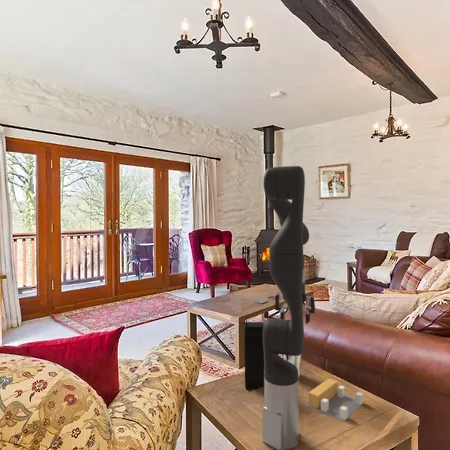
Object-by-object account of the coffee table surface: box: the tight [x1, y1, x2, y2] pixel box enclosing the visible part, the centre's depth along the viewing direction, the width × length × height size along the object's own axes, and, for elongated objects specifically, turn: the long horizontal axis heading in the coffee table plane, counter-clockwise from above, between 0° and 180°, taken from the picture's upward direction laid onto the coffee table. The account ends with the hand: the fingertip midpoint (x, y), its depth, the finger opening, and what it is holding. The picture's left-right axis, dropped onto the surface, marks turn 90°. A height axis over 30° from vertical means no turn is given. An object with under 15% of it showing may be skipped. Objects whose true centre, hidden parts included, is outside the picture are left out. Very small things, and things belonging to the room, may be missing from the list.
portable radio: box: [243, 316, 265, 390], centre depth 126 cm, size 8×6×25 cm
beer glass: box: [282, 354, 302, 378], centre depth 132 cm, size 7×7×15 cm
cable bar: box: [308, 377, 339, 409], centre depth 115 cm, size 13×3×4 cm, turn 135°
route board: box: [304, 385, 365, 423], centre depth 112 cm, size 15×13×4 cm
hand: (295, 321), depth 129 cm, fingers open, 8 cm apart
